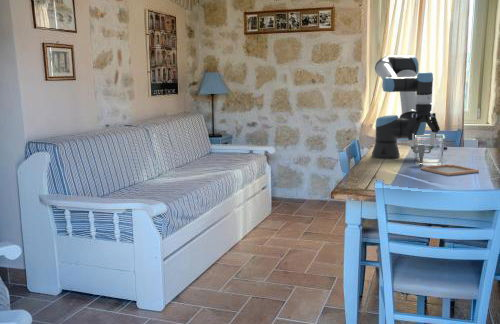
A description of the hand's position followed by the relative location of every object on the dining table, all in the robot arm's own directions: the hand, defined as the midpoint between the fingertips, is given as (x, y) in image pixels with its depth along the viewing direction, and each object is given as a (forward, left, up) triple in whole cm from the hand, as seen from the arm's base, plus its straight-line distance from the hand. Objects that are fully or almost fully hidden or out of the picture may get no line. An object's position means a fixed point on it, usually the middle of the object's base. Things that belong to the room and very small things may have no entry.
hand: (421, 145), depth 243 cm
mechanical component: (0, 0, -10) cm, 10 cm away
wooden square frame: (+19, 0, -10) cm, 21 cm away
